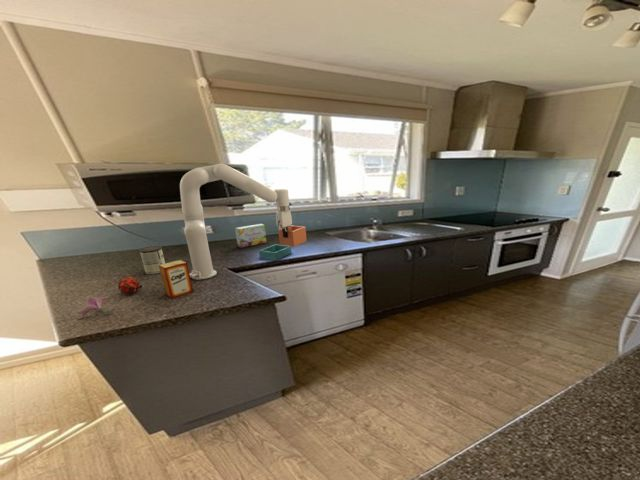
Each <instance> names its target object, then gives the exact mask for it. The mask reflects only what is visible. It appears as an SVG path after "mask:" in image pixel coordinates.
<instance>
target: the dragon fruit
mask: <svg viewBox="0 0 640 480" xmlns="http://www.w3.org/2000/svg"><path fill="white" fill-rule="evenodd" d="M142 288H143V284H141V282H140V281H139V278H138V277H133V276H127V277H126V276H125V277H123V278H122V279H121V280H119V281H118V283H117V289H118V291H120V292H121V293H122V294H125V295H127V296H131V295H132V294H133V293H136V292H138V291H139V289H142Z"/></svg>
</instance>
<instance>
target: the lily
mask: <svg viewBox="0 0 640 480" xmlns="http://www.w3.org/2000/svg"><path fill="white" fill-rule="evenodd" d="M106 293H107V292H104V293H102V294H101V295H100V296H98V297H95V296H89V297H88V298H87V300H86V306H85V307H83V308H82V309H81V310H80V311H79V312H78V313H81V315H80V317H79V319H80V320H81V319H82V318H84V317H85V316H86V315H87V314H89V313H90V312H99V310H101V311H102V312H104V313H105V314H106V315H107V316H108V315H109V314H108V312H106V311H105V310H104V309H103V308H101V306H102V303H103V302H104V301H106V300H107V299H109V298H110V297H109V296H105V295H106Z"/></svg>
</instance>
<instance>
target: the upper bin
mask: <svg viewBox="0 0 640 480" xmlns="http://www.w3.org/2000/svg"><path fill="white" fill-rule="evenodd" d="M277 232H278V240H279V245H284V246H291V247H297V246H299V245H301V244H303V243H306V242H308V241H307V228H306V226H301V225H292V226H291V227H290V228H289V231H287V233H288V238H284V237H283V232H282V230H279V229H278V231H277Z"/></svg>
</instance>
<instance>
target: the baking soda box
mask: <svg viewBox="0 0 640 480" xmlns="http://www.w3.org/2000/svg"><path fill="white" fill-rule="evenodd" d="M159 269H160V275H161V280H162V284H163V289H164V292H165V295H166V296H167V297H169V298H170V299H174V298H177V297H180V296H184V295H187V294H189V293H193V292H194V289H193V284H192V280H191V279H192V278H191V277H190V275H189V274H190V270H189V265H188V262H187V261H185V260H182V259H179V260H174V261H169V262H167V263H166V262H165V264H162V265H159Z"/></svg>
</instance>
